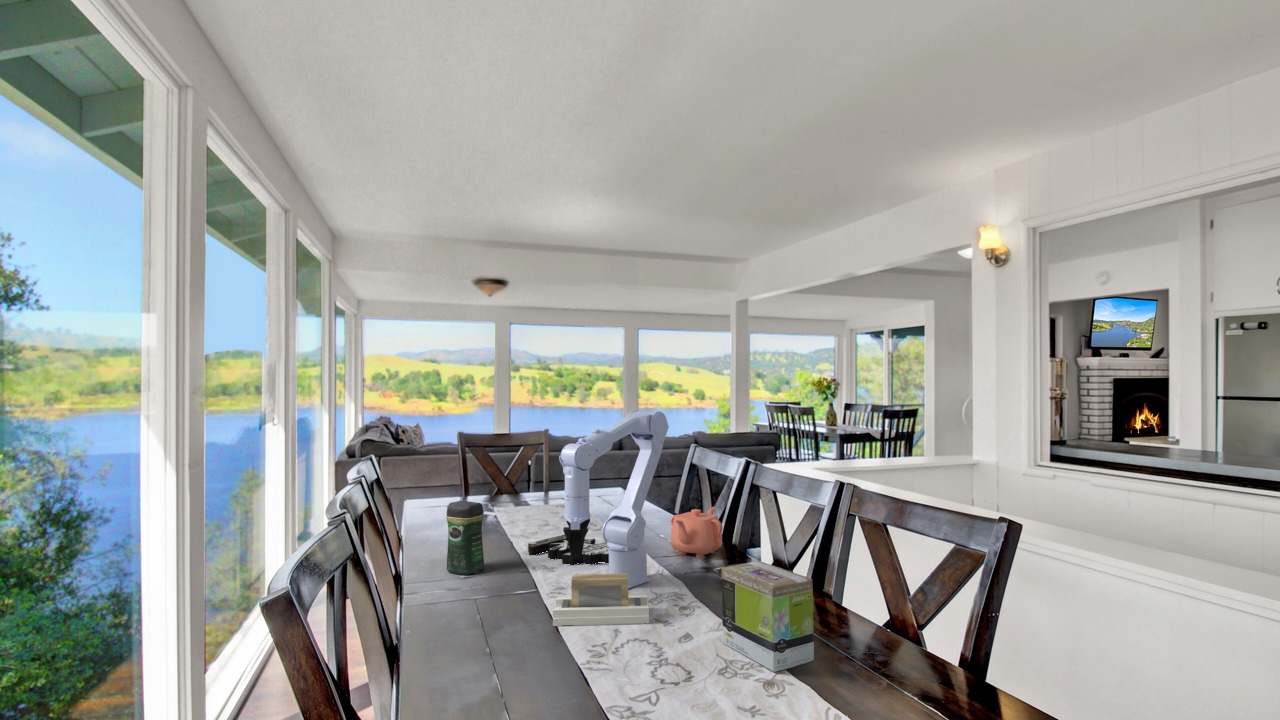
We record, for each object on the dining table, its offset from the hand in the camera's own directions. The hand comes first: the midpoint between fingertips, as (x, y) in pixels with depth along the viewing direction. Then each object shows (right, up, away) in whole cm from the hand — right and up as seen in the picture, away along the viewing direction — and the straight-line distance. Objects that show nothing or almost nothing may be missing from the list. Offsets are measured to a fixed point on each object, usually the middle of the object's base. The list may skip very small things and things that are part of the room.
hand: (577, 554), depth 148 cm
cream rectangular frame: (+6, -10, -11) cm, 16 cm away
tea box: (+38, -9, -30) cm, 49 cm away
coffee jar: (-32, -12, +23) cm, 42 cm away
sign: (-3, -12, +37) cm, 39 cm away
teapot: (+31, -11, +37) cm, 50 cm away
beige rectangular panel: (+6, -9, -11) cm, 15 cm away
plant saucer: (+42, -11, +8) cm, 45 cm away
